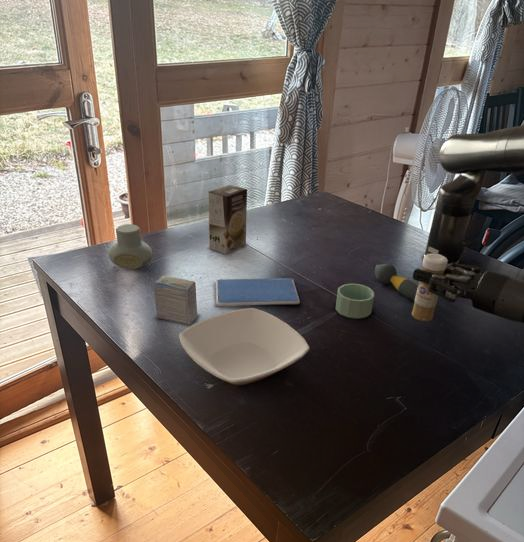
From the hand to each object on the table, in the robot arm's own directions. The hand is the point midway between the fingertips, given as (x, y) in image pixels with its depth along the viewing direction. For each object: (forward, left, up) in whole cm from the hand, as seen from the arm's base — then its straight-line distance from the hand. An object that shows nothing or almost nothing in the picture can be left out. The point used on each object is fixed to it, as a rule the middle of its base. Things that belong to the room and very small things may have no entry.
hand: (419, 269), depth 104 cm
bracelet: (0, -13, -15) cm, 20 cm away
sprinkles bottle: (0, +3, -10) cm, 11 cm away
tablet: (+10, -34, -15) cm, 39 cm away
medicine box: (+30, -40, -15) cm, 52 cm away
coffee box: (-6, -58, -15) cm, 60 cm away
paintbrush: (-16, -9, -15) cm, 24 cm away
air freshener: (+20, -68, -15) cm, 73 cm away
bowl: (+33, -18, -15) cm, 41 cm away
